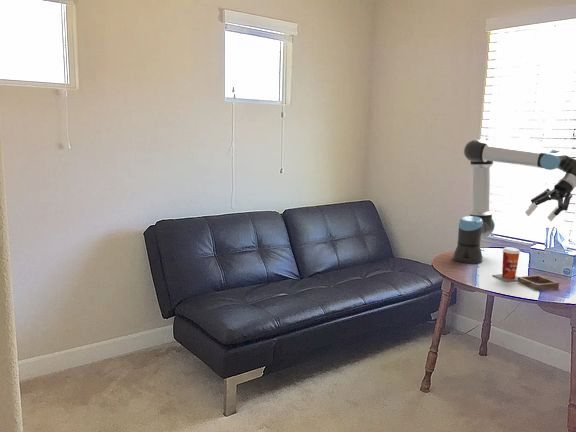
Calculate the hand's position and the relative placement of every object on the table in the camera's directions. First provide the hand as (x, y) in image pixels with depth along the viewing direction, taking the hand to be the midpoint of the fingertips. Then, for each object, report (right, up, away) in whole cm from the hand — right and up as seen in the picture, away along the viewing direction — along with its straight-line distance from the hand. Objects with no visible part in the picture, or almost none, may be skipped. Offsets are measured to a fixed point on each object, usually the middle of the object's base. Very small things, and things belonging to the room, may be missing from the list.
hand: (537, 216), depth 234 cm
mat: (-14, -30, +1) cm, 33 cm away
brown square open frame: (-4, -32, -8) cm, 33 cm away
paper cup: (-13, -29, +1) cm, 32 cm away
